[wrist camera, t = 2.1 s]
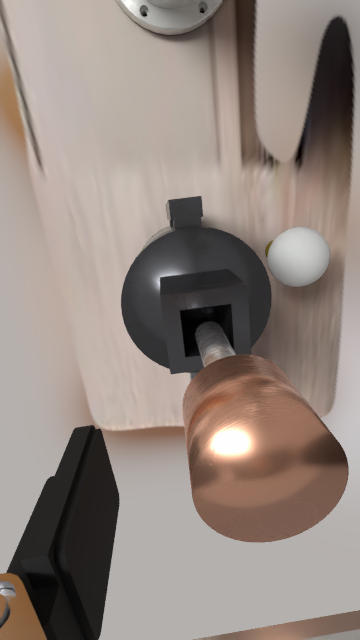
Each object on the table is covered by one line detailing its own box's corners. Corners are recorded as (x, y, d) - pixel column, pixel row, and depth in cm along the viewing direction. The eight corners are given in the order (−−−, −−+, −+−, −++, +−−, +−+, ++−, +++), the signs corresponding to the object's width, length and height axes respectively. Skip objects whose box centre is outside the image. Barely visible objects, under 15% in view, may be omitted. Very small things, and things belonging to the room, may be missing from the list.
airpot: (126, 210, 35) (83, 204, 16) (224, 198, 36) (305, 177, 16) (146, 338, 41) (134, 456, 21) (232, 327, 41) (300, 433, 21)
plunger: (170, 305, 17) (183, 430, 7) (241, 296, 17) (353, 407, 7) (178, 369, 18) (199, 551, 8) (244, 361, 18) (343, 531, 9)
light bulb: (303, 260, 39) (350, 275, 29) (260, 281, 39) (292, 303, 30) (287, 216, 37) (332, 216, 27) (242, 239, 37) (270, 247, 28)
